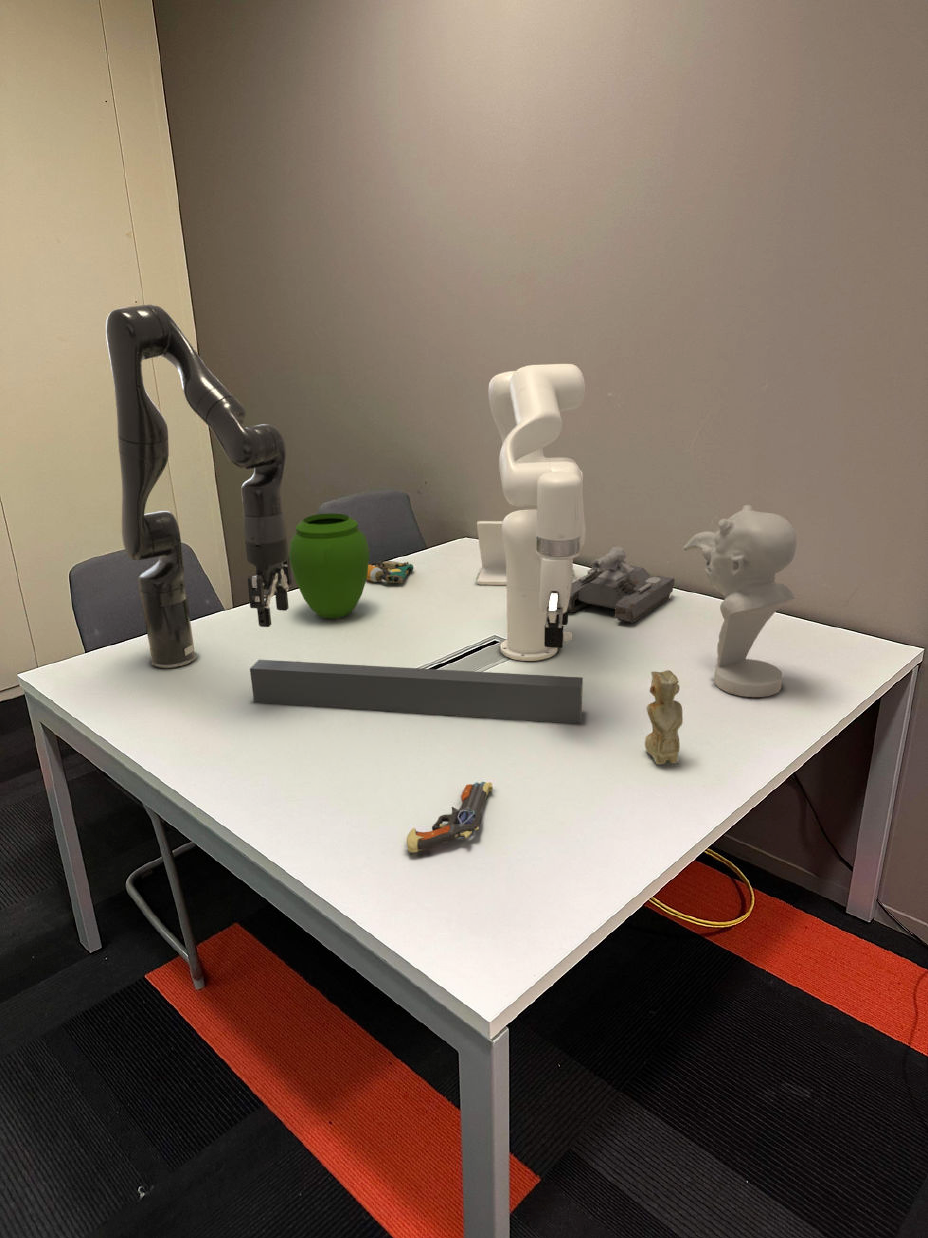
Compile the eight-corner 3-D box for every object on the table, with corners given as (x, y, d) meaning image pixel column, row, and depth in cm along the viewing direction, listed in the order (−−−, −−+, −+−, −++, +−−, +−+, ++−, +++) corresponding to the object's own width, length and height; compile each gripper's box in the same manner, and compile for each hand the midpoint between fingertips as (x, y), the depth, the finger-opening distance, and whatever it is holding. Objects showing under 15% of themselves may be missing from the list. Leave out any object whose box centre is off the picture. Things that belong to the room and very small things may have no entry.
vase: (389, 608, 216) (383, 514, 208) (339, 633, 201) (330, 533, 192) (330, 596, 226) (322, 506, 218) (278, 619, 211) (267, 523, 202)
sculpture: (673, 746, 147) (678, 666, 142) (685, 767, 140) (691, 684, 135) (639, 747, 147) (643, 667, 141) (650, 769, 140) (654, 686, 135)
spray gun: (382, 568, 251) (427, 575, 245) (352, 581, 237) (399, 589, 231) (382, 554, 250) (427, 560, 244) (351, 566, 235) (399, 574, 230)
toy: (603, 584, 229) (605, 530, 224) (673, 597, 218) (677, 540, 213) (555, 612, 210) (556, 553, 205) (630, 627, 199) (633, 566, 194)
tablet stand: (569, 585, 229) (570, 524, 223) (476, 584, 232) (475, 523, 226) (570, 566, 246) (571, 508, 240) (484, 564, 249) (483, 507, 243)
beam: (582, 713, 160) (582, 677, 157) (580, 723, 156) (581, 687, 153) (263, 692, 172) (259, 659, 169) (253, 702, 168) (249, 668, 165)
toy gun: (402, 841, 119) (471, 840, 117) (431, 778, 137) (492, 776, 135) (405, 858, 120) (474, 857, 118) (434, 793, 138) (494, 791, 136)
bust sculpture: (716, 647, 187) (729, 489, 174) (804, 687, 167) (826, 512, 154) (658, 663, 180) (668, 499, 167) (743, 707, 160) (761, 525, 147)
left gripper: (262, 525, 164) (270, 603, 170) (229, 546, 151) (239, 630, 157) (299, 526, 163) (306, 605, 169) (269, 548, 150) (278, 633, 156)
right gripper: (542, 528, 155) (541, 615, 162) (530, 560, 140) (529, 654, 146) (583, 530, 154) (580, 617, 161) (576, 562, 138) (573, 657, 145)
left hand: (274, 617), depth 163 cm, fingers open, 8 cm apart
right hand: (556, 635), depth 154 cm, fingers open, 9 cm apart
